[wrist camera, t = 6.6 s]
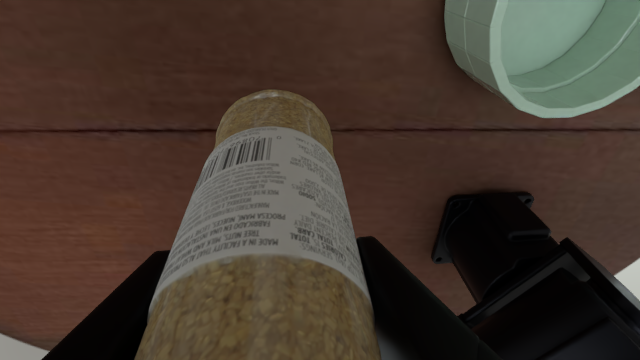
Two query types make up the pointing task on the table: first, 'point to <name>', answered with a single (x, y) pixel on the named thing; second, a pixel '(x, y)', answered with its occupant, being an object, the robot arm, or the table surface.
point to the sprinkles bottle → (265, 248)
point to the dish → (548, 51)
